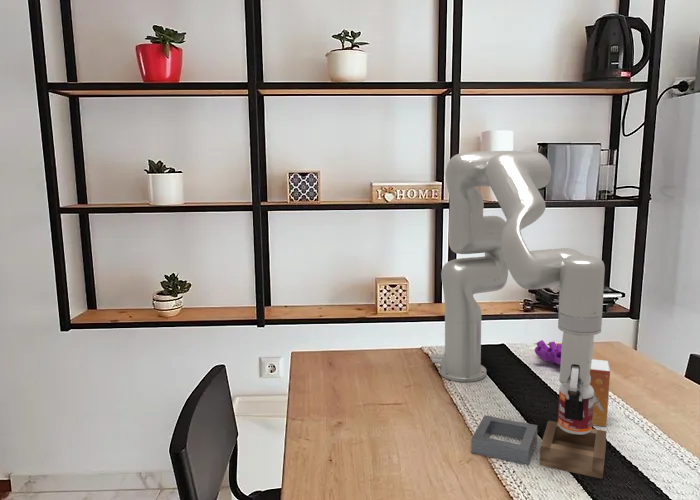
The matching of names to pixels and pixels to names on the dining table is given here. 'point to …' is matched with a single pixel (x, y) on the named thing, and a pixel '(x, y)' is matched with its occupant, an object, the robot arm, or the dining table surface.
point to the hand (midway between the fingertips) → (575, 410)
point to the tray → (573, 451)
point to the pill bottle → (588, 398)
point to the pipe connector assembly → (549, 352)
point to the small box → (600, 391)
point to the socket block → (502, 448)
